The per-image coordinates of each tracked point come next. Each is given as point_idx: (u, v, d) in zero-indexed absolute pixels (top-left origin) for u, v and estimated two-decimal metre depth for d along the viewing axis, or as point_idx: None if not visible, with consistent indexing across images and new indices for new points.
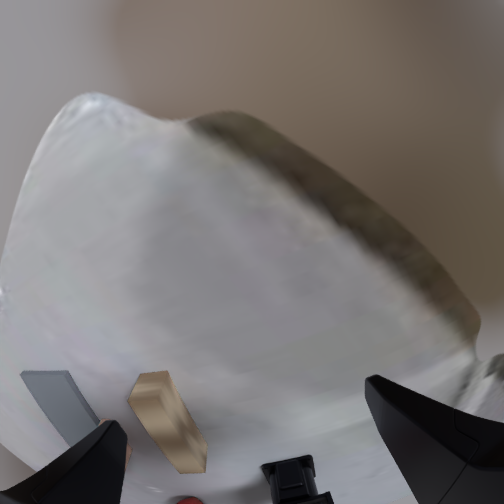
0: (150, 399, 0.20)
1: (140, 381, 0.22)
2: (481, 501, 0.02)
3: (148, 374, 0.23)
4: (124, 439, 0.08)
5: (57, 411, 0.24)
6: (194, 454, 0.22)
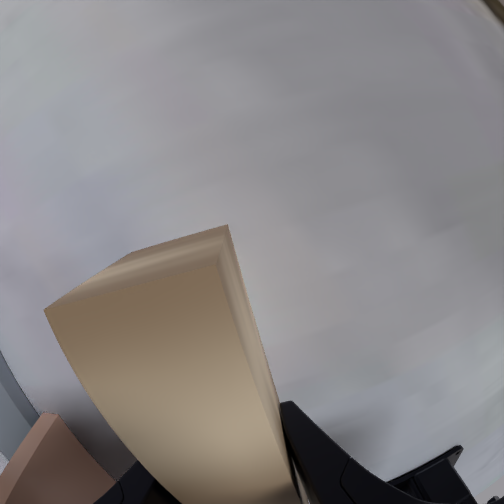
0: (164, 276, 0.03)
1: (125, 260, 0.06)
2: None
3: (157, 245, 0.07)
4: None
5: None
6: None
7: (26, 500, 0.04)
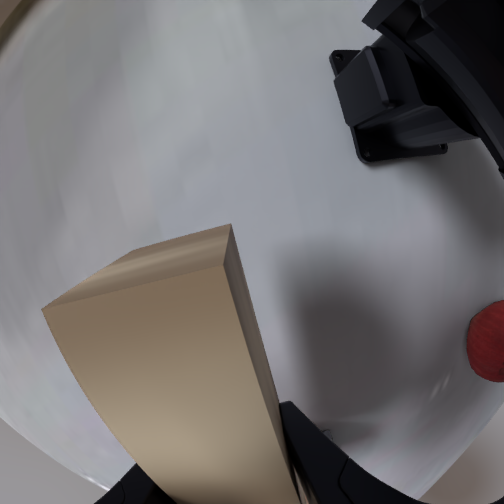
0: (168, 277, 0.03)
1: (126, 258, 0.06)
2: None
3: (159, 244, 0.07)
4: None
5: None
6: None
7: None
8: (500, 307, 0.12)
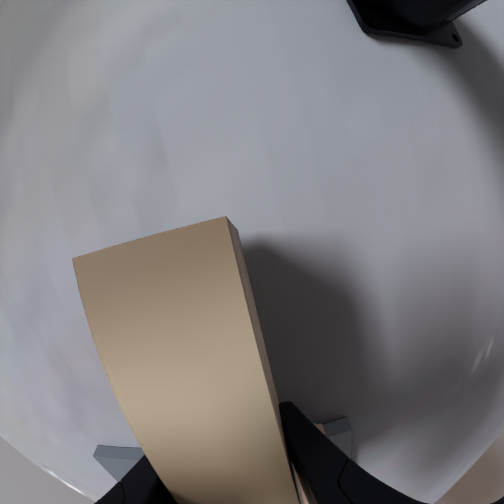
0: (184, 227, 0.04)
1: None
2: None
3: None
4: None
5: None
6: None
7: None
8: None
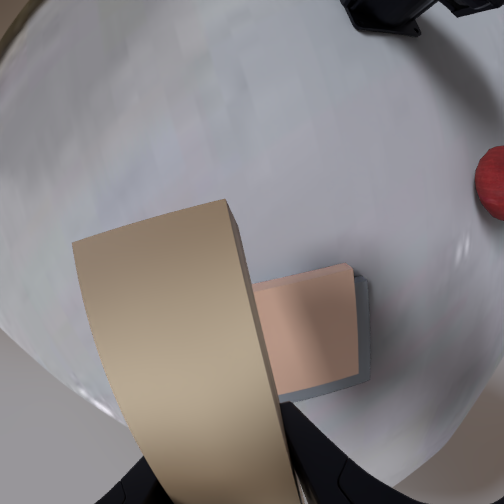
0: (184, 209, 0.04)
1: None
2: None
3: None
4: None
5: None
6: None
7: (282, 365, 0.17)
8: (495, 147, 0.13)
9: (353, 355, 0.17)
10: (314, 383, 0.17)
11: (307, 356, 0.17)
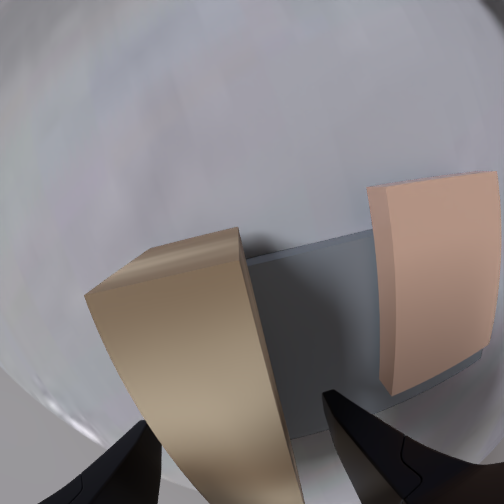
0: (197, 269, 0.05)
1: (147, 255, 0.07)
2: None
3: (175, 243, 0.08)
4: None
5: (341, 376, 0.10)
6: (300, 493, 0.07)
7: (414, 338, 0.08)
8: None
9: (491, 314, 0.09)
10: (444, 366, 0.09)
11: (448, 318, 0.08)
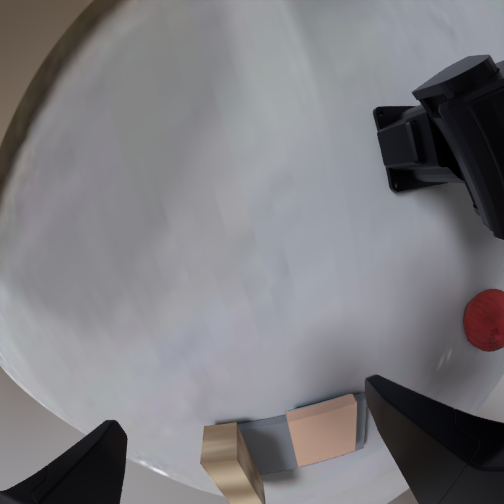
0: (228, 460, 0.17)
1: (207, 437, 0.20)
2: (480, 501, 0.02)
3: (214, 428, 0.21)
4: (124, 439, 0.08)
5: (279, 456, 0.23)
6: (259, 497, 0.19)
7: (303, 453, 0.21)
8: (488, 293, 0.18)
9: (352, 442, 0.21)
10: (324, 458, 0.21)
11: (321, 447, 0.21)
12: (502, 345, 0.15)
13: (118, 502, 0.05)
